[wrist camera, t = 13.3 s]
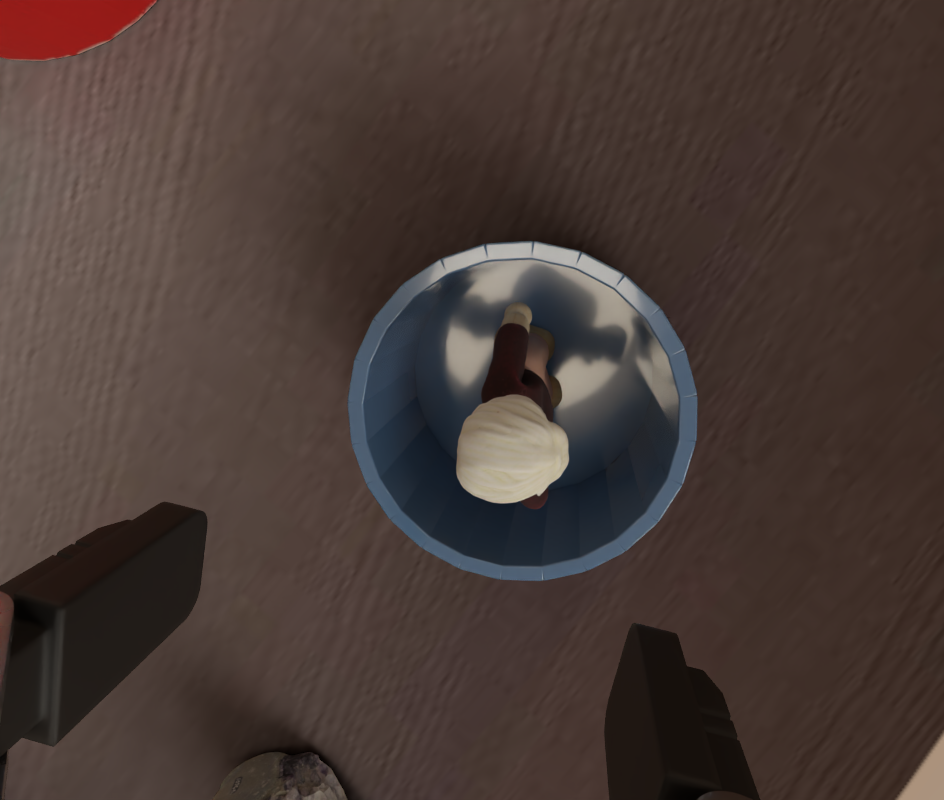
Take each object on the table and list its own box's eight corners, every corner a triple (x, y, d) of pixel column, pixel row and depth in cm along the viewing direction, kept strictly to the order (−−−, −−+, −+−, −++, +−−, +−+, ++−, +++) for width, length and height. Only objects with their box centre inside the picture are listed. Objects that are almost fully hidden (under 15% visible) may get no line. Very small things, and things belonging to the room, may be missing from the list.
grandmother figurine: (463, 313, 30) (387, 355, 18) (544, 287, 29) (522, 312, 17) (514, 468, 31) (475, 606, 19) (593, 447, 31) (604, 577, 18)
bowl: (386, 462, 33) (324, 532, 25) (432, 218, 30) (379, 206, 22) (624, 524, 32) (641, 618, 24) (697, 276, 29) (745, 286, 21)
